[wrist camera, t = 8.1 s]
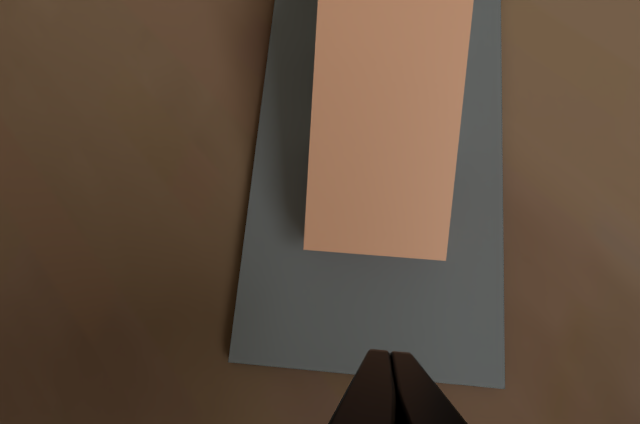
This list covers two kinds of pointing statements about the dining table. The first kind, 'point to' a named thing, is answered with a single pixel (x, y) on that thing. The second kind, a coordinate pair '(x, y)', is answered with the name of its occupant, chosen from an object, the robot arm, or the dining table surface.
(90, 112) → the dining table surface
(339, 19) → the domino
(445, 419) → the robot arm
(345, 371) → the mat
